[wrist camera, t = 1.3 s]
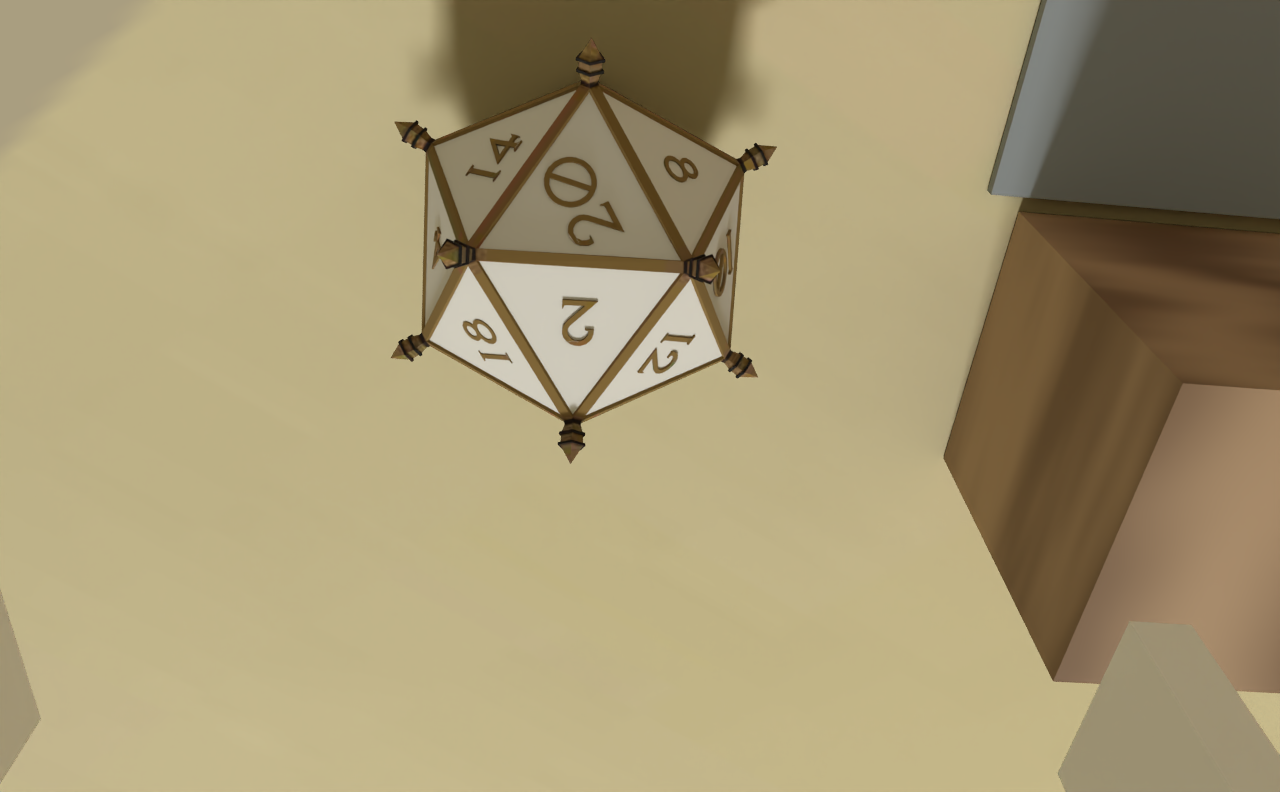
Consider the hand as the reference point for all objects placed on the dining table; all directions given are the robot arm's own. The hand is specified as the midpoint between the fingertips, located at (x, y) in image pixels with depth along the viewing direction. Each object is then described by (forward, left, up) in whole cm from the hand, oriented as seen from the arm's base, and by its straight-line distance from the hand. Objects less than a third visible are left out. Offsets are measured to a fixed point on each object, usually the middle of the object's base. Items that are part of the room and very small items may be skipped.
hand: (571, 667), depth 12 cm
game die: (0, 0, -17) cm, 17 cm away
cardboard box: (+17, -4, -17) cm, 24 cm away
